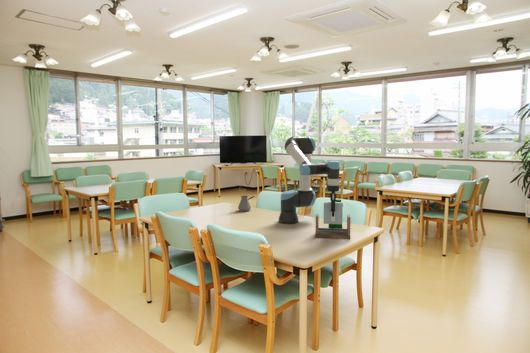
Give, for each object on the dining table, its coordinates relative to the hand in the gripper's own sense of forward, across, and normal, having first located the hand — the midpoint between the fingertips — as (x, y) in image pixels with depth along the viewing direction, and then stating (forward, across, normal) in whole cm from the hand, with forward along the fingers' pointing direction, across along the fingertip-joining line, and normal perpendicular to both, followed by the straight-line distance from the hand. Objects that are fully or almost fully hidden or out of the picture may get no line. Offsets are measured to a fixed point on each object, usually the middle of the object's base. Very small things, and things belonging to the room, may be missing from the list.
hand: (332, 220), depth 238 cm
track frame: (+10, 0, 0) cm, 10 cm away
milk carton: (+10, -20, +2) cm, 23 cm away
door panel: (+2, 0, 0) cm, 2 cm away
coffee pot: (+10, -65, -72) cm, 98 cm away
